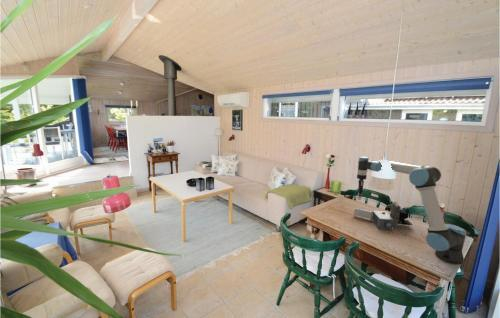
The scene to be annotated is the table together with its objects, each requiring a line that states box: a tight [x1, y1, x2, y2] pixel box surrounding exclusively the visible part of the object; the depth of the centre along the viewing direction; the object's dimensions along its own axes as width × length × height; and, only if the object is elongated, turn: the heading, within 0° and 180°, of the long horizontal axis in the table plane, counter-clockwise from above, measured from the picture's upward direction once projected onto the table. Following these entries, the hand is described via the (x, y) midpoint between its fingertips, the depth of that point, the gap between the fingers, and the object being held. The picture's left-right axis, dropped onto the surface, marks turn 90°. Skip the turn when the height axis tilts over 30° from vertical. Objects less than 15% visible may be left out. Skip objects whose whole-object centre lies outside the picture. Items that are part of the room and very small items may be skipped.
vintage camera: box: [389, 201, 413, 228], centre depth 205 cm, size 10×16×20 cm, turn 79°
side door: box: [353, 207, 373, 221], centre depth 219 cm, size 15×2×8 cm, turn 57°
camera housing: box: [371, 210, 393, 230], centre depth 206 cm, size 19×11×10 cm, turn 171°
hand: (359, 199), depth 213 cm, fingers closed
